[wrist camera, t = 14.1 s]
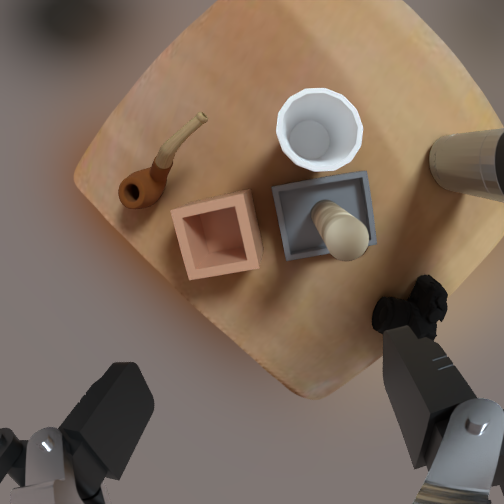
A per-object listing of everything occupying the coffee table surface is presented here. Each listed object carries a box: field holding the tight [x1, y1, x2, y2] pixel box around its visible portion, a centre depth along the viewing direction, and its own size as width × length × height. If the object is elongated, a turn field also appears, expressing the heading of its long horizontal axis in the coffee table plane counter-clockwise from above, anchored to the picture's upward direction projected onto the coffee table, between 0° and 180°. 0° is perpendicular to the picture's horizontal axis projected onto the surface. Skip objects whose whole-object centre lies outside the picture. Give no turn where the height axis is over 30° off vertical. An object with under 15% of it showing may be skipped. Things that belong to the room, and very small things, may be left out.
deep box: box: [170, 189, 264, 280], centre depth 42 cm, size 10×10×9 cm
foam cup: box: [276, 88, 363, 172], centre depth 36 cm, size 10×9×13 cm
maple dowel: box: [311, 200, 369, 261], centre depth 36 cm, size 4×4×16 cm
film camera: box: [372, 275, 448, 341], centre depth 44 cm, size 15×10×9 cm, turn 164°
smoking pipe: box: [118, 112, 208, 209], centre depth 40 cm, size 7×18×6 cm
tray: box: [271, 171, 377, 261], centre depth 44 cm, size 14×11×2 cm
